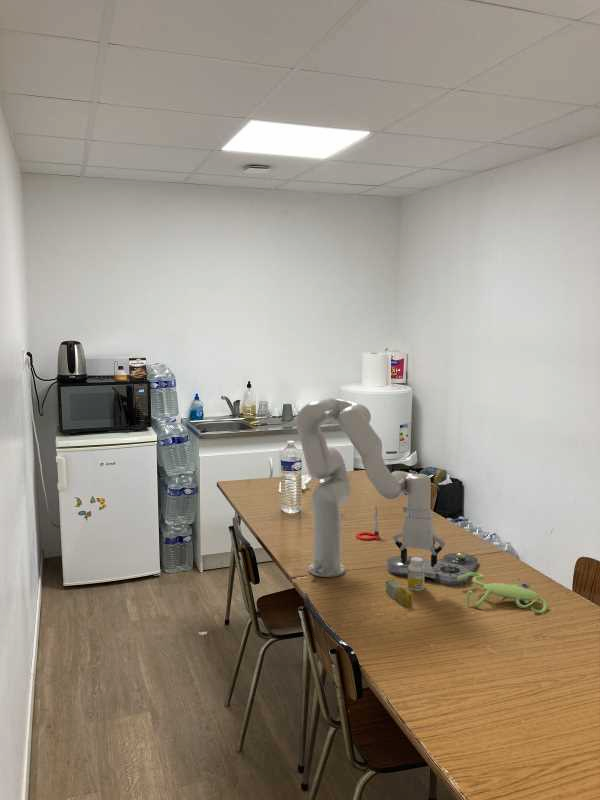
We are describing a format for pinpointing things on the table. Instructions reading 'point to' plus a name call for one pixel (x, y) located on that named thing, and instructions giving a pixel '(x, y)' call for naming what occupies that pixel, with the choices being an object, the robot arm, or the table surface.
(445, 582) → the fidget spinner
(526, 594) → the figurine
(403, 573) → the upper chain link
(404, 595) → the medication box
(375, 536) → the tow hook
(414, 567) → the supplement bottle
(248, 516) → the table surface
